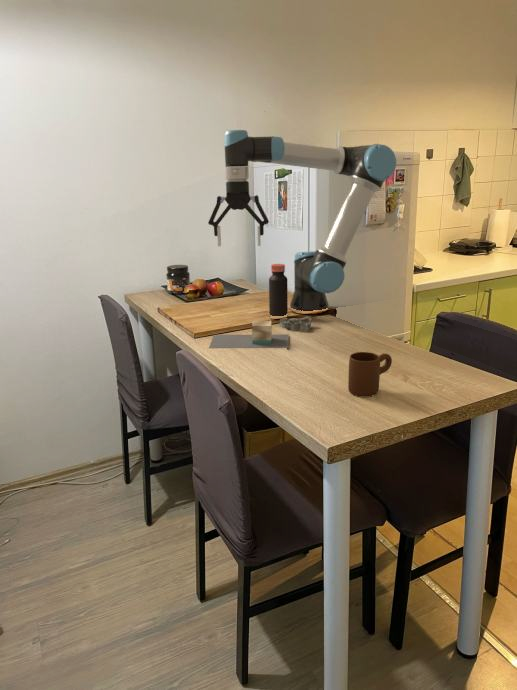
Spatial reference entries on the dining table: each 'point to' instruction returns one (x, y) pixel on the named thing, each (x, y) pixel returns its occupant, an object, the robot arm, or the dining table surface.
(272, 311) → the bottle
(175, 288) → the supplement container
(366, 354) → the mug
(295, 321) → the egg carton
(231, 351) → the dining table surface
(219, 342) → the rubber mat
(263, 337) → the maple cube
